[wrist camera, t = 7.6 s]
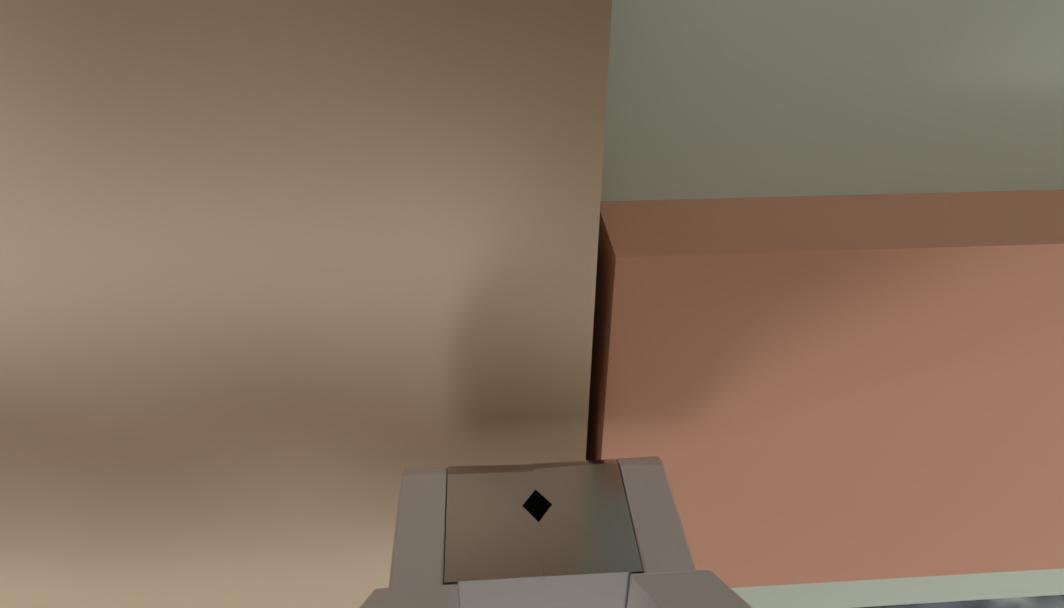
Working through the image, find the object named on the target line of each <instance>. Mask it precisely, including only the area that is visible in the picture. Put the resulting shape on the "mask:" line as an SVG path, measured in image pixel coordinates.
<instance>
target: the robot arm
mask: <svg viewBox="0 0 1064 608" xmlns="http://www.w3.org/2000/svg"><path fill="white" fill-rule="evenodd" d="M359 608H752V607H751V606H750V605H749V604H748V603H747V602H746V601H744V600H743V599H742V598H741V597H740V596H739V595H738V594H737V593H735V592H734V591H733V590H732V589H731V588H730V587H729V586H727V585H726V584H725V583H724V582H723V581H722V580H721V579H720V578H718V577H717V576H716V575H715V574H714V573H713V572H712V571H710V570H696V568H695V564H694V561H693V558H692V555H691V551H690V548H689V545H688V542H687V538H686V535H685V532H684V529H683V525H682V522H681V519H680V516H679V512H678V509H677V506H676V503H675V499H674V496H673V493H672V490H671V486H670V483H669V480H668V477H667V473H666V470H665V467H664V464H663V462H662V460H661V459H660V458H659V457H658V456H652V457H635V458H618V459H616V460H614V459H603V460H586V461H569V462H551V463H534V464H520V465H478V466H449V467H435V468H404V471H403V473H402V476H401V479H400V488H399V497H398V506H397V515H396V525H395V534H394V543H393V552H392V562H391V571H390V580H389V588H380V589H374V591H373V592H372V593H371V594H370V595H369V597H368V598H367V599H366V600H365V601H364V603H363V604H362V605H361V606H360V607H359Z"/></svg>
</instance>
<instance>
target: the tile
mask: <svg viewBox="0 0 1064 608" xmlns="http://www.w3.org/2000/svg"><path fill="white" fill-rule="evenodd" d="M652 456H658V457H659V458H660V459H661V460H662V462H663V464H664V467H665V470H666V473H667V477H668V480H669V483H670V486H671V490H672V493H673V496H674V499H675V503H676V506H677V509H678V512H679V516H680V519H681V522H682V525H683V529H684V532H685V535H686V538H687V542H688V545H689V548H690V551H691V555H692V558H693V561H694V564H695V568H696V570H710V571H712V572H713V573H714V574H715V575H716V576H717V577H718V578H720V579H721V580H722V581H723V582H724V583H725V584H726V585H727V586H729V587H730V588H739V587H756V586H773V585H790V584H807V583H824V582H841V581H858V580H875V579H892V578H909V577H926V576H943V575H960V574H977V573H994V572H1012V571H1029V570H1046V569H1063V568H1064V190H1027V191H987V192H948V193H909V194H870V195H830V196H791V197H752V198H713V199H674V200H634V201H601V202H600V220H599V237H598V254H597V272H596V289H595V306H594V323H593V341H592V358H591V375H590V393H589V410H588V427H587V445H586V460H603V459H614V460H616V459H618V458H635V457H652Z"/></svg>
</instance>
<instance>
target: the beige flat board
mask: <svg viewBox="0 0 1064 608" xmlns="http://www.w3.org/2000/svg"><path fill="white" fill-rule="evenodd" d="M611 12H612V0H0V608H359V607H360V606H361V605H362V604H363V603H364V601H365V600H366V599H367V598H368V597H369V595H370V594H371V593H372V592H373V591H374V589H380V588H389V580H390V571H391V562H392V552H393V543H394V534H395V525H396V515H397V506H398V497H399V488H400V479H401V476H402V473H403V471H404V468H435V467H449V466H478V465H520V464H534V463H551V462H569V461H586V445H587V427H588V410H589V393H590V375H591V358H592V341H593V323H594V306H595V289H596V272H597V254H598V237H599V220H600V202H601V185H602V168H603V150H604V133H605V116H606V98H607V81H608V64H609V46H610V29H611Z"/></svg>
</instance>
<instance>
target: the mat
mask: <svg viewBox="0 0 1064 608" xmlns="http://www.w3.org/2000/svg"><path fill="white" fill-rule="evenodd" d="M1027 190H1064V0H612V12H611V29H610V46H609V64H608V81H607V98H606V116H605V133H604V150H603V168H602V185H601V201H634V200H674V199H713V198H752V197H791V196H830V195H870V194H909V193H948V192H987V191H1027ZM731 589H732V590H733V591H734V592H735V593H737V594H738V595H739V596H740V597H741V598H742V599H743V600H744V601H746V602H747V603H748V604H749V605H750V606H751V607H752V608H855V607H871V606H887V605H903V604H920V603H936V602H952V601H968V600H985V599H1001V598H1017V597H1033V596H1050V595H1064V568H1063V569H1046V570H1029V571H1012V572H994V573H977V574H960V575H943V576H926V577H909V578H892V579H875V580H858V581H841V582H824V583H807V584H790V585H773V586H756V587H739V588H731Z"/></svg>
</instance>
